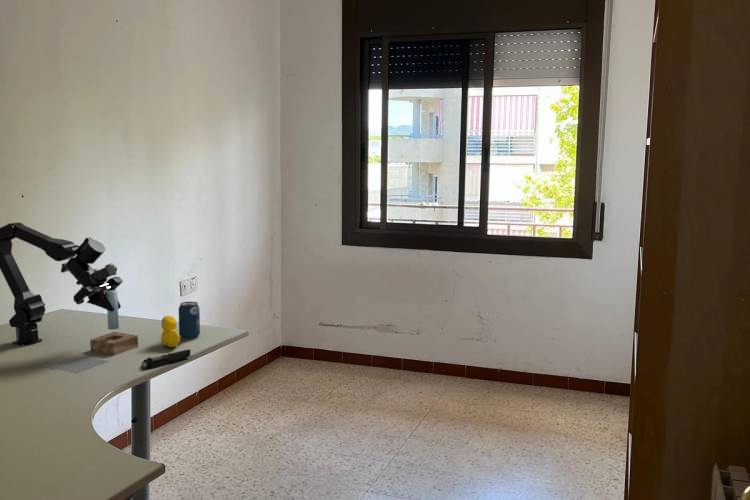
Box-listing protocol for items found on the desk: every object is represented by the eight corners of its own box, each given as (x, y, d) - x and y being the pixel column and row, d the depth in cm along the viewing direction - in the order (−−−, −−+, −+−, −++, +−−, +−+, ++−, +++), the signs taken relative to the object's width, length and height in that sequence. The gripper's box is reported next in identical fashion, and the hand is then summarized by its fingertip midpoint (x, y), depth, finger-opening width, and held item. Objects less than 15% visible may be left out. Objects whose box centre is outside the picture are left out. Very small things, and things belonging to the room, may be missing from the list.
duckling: (157, 342, 211) (156, 313, 210) (173, 340, 214) (172, 311, 213) (166, 351, 202) (165, 321, 201) (183, 349, 205) (182, 319, 204)
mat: (41, 367, 185) (41, 366, 185) (75, 355, 196) (75, 354, 196) (77, 374, 180) (76, 373, 180) (109, 362, 191) (109, 361, 191)
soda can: (202, 338, 218) (202, 304, 216) (182, 341, 214) (181, 306, 212) (196, 333, 223) (195, 300, 221) (176, 336, 219) (175, 302, 218)
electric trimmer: (193, 360, 196) (193, 350, 196) (146, 371, 185) (146, 360, 184) (186, 357, 199) (186, 347, 198) (140, 368, 187) (139, 357, 187)
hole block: (90, 351, 200) (90, 339, 200) (114, 343, 210) (114, 331, 209) (114, 356, 197) (114, 343, 196) (138, 347, 206) (137, 335, 205)
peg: (106, 329, 200) (105, 292, 198) (109, 326, 203) (108, 290, 201) (117, 329, 200) (115, 292, 198) (120, 326, 203) (118, 290, 202)
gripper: (80, 261, 190) (115, 299, 190) (116, 252, 208) (148, 287, 208) (58, 285, 192) (92, 323, 192) (95, 274, 211) (127, 308, 210)
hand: (116, 309), depth 201 cm, fingers closed on peg, 3 cm apart
